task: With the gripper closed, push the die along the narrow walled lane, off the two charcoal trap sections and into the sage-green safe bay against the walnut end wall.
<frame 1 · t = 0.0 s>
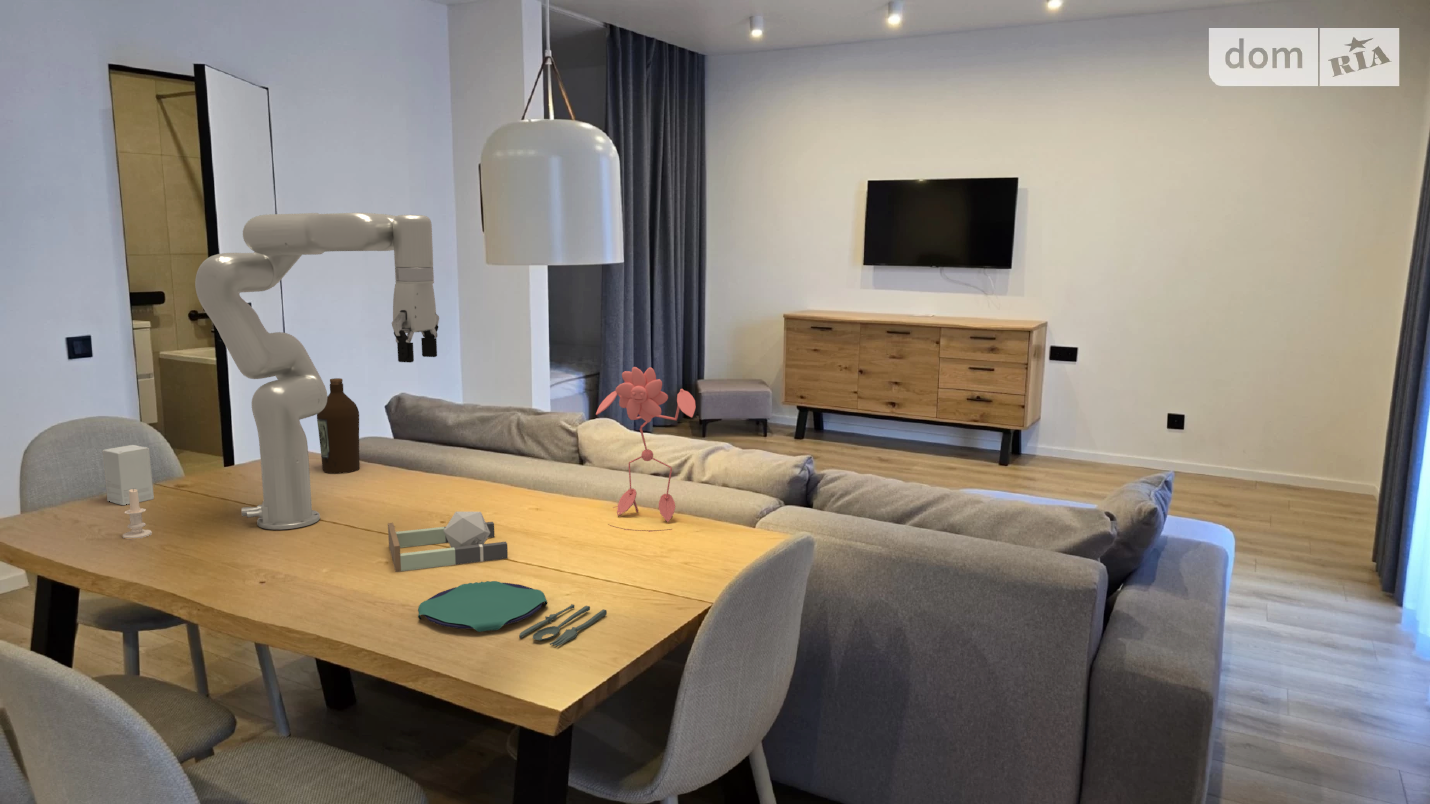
hand: (418, 359, 193), 37 cm above the table, tool pointing down, fingers open, 9 cm apart
trap lane: (447, 552, 186), on the table
olive oil: (341, 470, 253), on the table
supplement box: (130, 501, 221), on the table
figurine: (639, 522, 208), on the table
candle: (137, 536, 195), on the table
die: (467, 551, 188), on the table
cutlery set: (507, 620, 154), on the table
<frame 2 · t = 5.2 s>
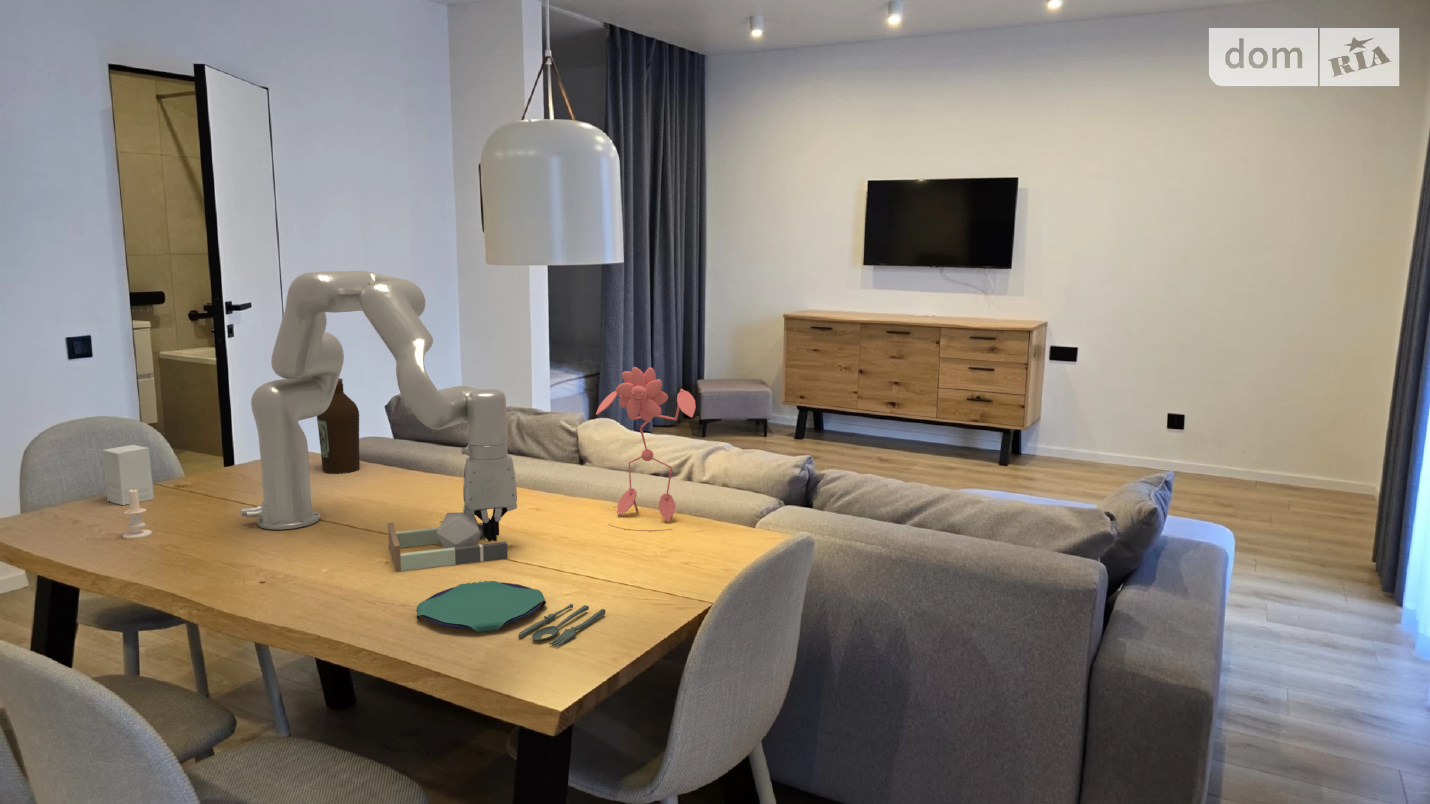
hand: (491, 539, 189), 2 cm above the table, tool pointing down, fingers closed
die: (460, 552, 187), on the table, touching gripper
everything else where it was.
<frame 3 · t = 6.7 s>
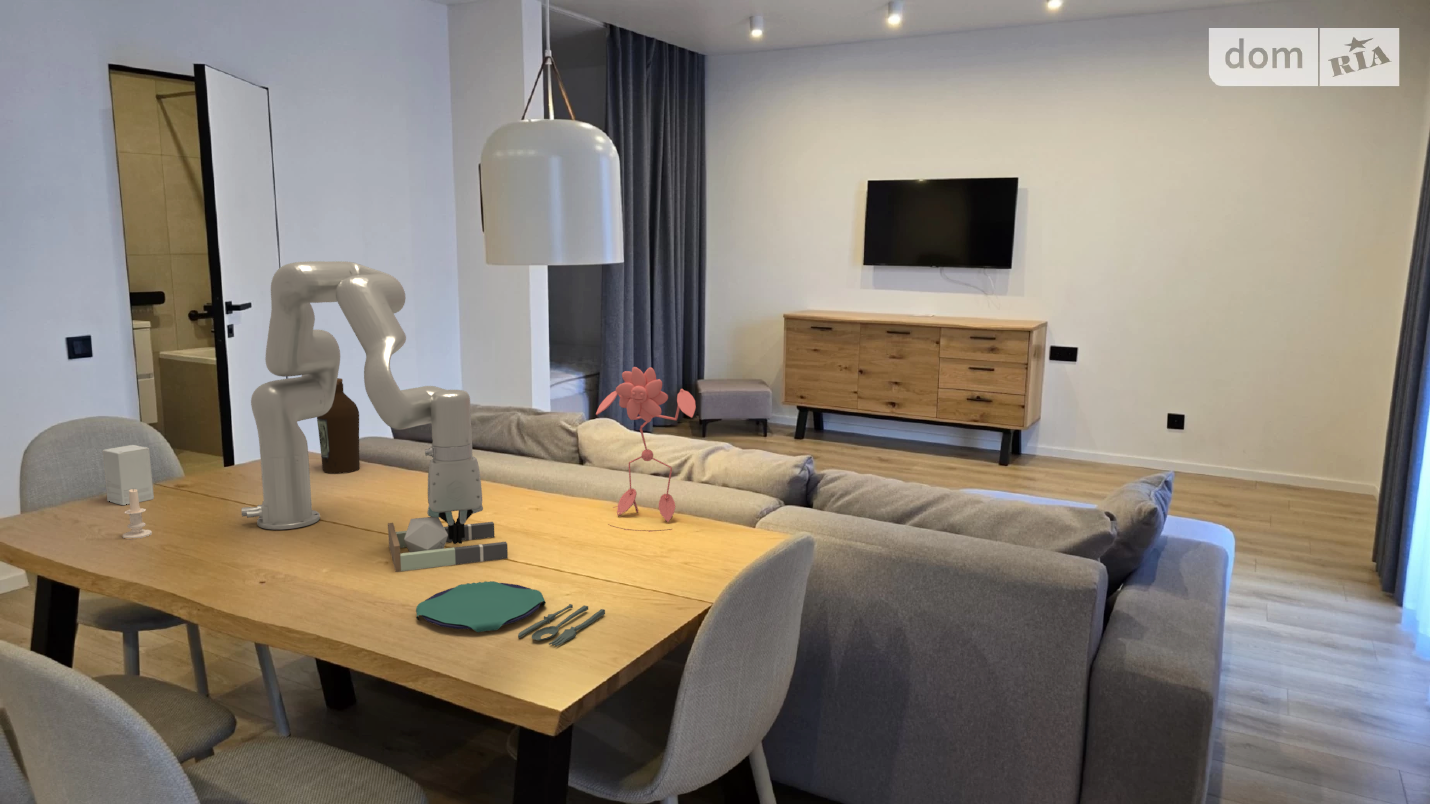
hand: (456, 541, 186), 2 cm above the table, tool pointing down, fingers closed
die: (427, 557, 183), on the table, touching gripper
everything else where it was.
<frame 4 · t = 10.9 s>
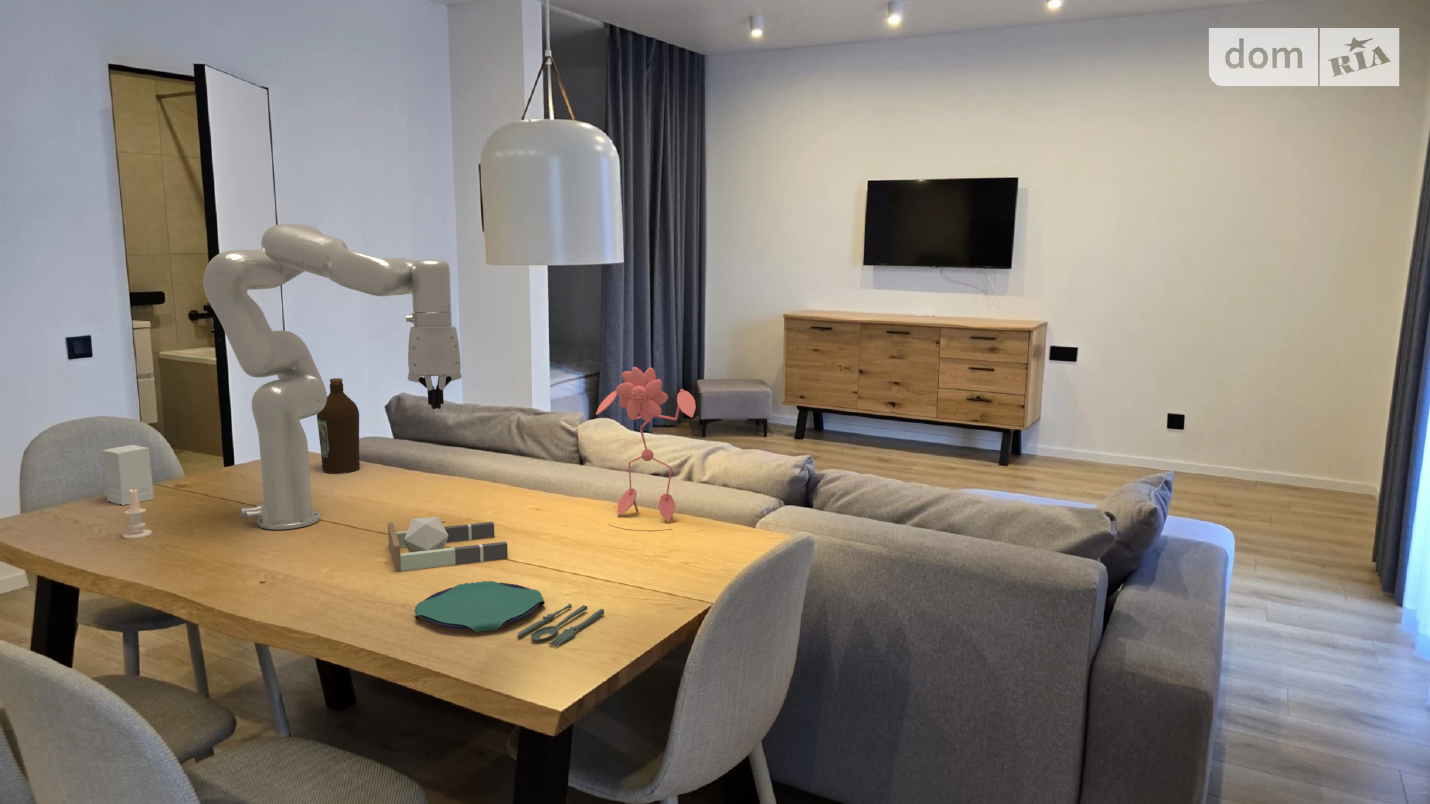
hand: (436, 407, 194), 27 cm above the table, tool pointing down, fingers closed
die: (426, 558, 183), on the table
everything else where it was.
at the end: die inside the target area (1.5 cm from its centre), on the table; die tilted 0° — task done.
